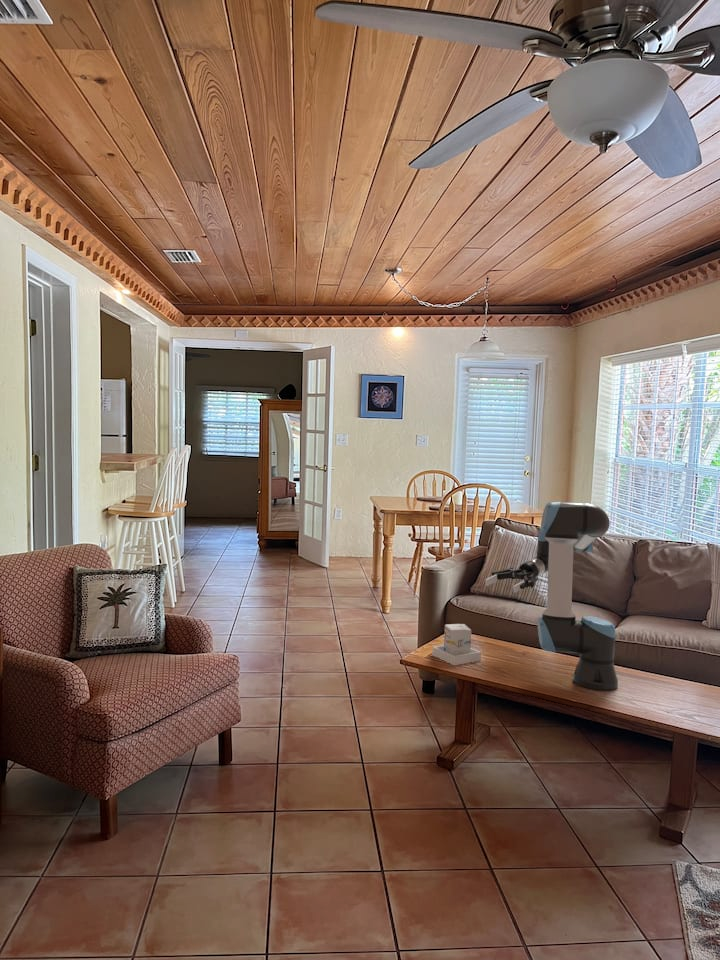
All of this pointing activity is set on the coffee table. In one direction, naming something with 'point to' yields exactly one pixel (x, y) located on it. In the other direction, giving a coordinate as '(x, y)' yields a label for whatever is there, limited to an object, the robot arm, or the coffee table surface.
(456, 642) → the ink box
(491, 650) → the coffee table surface
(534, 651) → the coffee table surface
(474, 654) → the open white box
